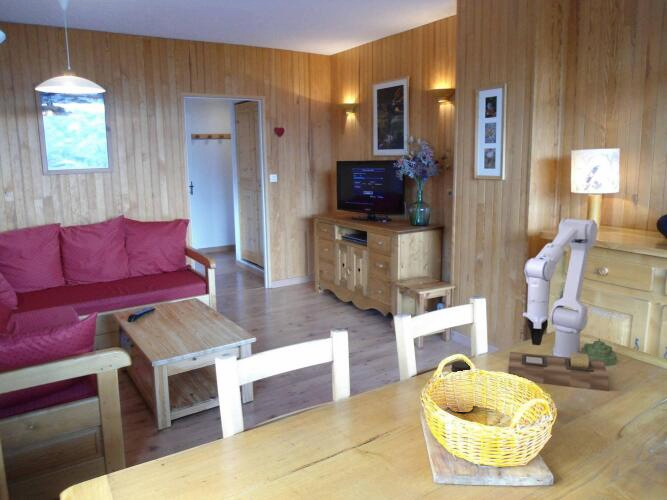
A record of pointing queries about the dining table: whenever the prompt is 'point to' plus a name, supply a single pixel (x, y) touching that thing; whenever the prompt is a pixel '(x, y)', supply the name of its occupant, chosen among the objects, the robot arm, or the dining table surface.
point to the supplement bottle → (459, 366)
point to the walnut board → (559, 371)
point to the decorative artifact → (600, 352)
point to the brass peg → (579, 360)
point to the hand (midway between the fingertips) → (536, 344)
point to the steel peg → (533, 360)
